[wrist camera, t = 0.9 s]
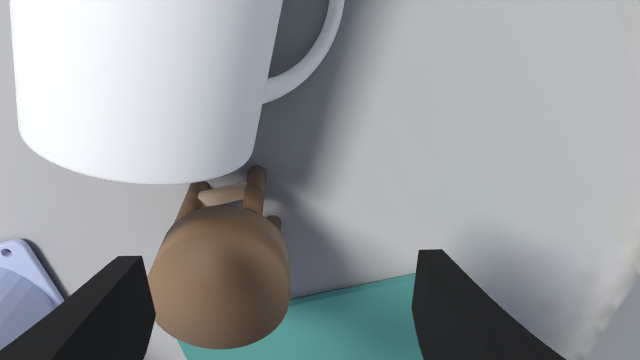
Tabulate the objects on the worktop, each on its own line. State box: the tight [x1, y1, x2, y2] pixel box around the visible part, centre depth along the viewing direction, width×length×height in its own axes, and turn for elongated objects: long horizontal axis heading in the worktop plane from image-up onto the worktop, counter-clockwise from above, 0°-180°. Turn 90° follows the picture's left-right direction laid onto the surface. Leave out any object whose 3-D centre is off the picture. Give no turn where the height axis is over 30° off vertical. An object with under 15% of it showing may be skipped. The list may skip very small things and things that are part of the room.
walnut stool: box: [147, 166, 290, 350], centre depth 20 cm, size 5×5×7 cm
